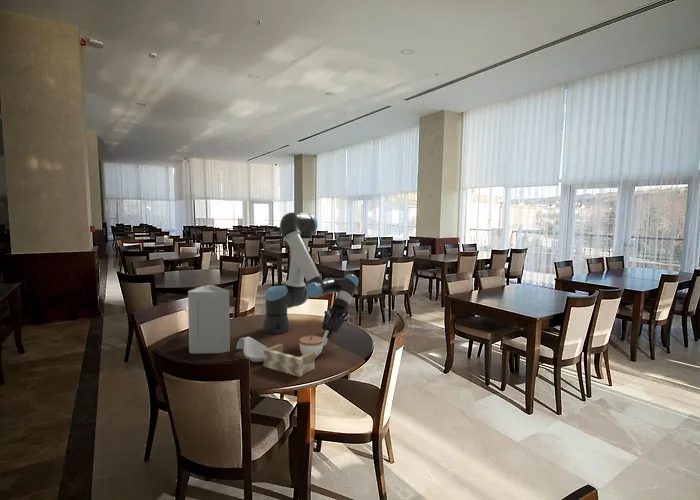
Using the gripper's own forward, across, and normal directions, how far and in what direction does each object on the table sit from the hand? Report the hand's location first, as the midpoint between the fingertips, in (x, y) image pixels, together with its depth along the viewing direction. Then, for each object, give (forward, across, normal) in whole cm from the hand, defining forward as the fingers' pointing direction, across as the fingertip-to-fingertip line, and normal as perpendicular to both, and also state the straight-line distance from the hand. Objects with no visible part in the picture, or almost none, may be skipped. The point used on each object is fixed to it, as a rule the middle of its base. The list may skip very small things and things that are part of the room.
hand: (322, 343), depth 179 cm
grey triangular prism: (+22, +47, +18) cm, 55 cm away
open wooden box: (+19, +1, +14) cm, 24 cm away
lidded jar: (+8, +1, +3) cm, 9 cm away
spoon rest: (+19, +23, +14) cm, 33 cm away
